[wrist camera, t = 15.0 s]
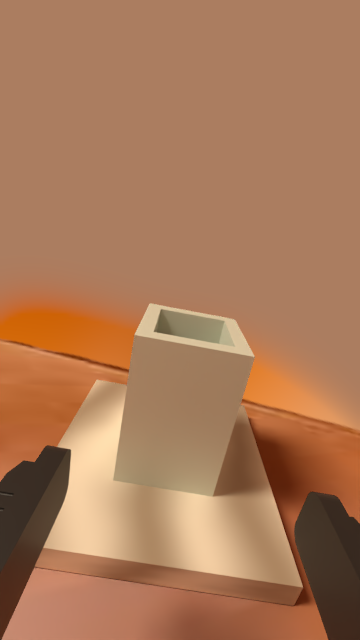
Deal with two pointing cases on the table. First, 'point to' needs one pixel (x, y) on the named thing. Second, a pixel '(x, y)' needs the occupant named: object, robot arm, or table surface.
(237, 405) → the cream square bin
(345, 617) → the robot arm
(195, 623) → the table surface
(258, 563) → the post base
